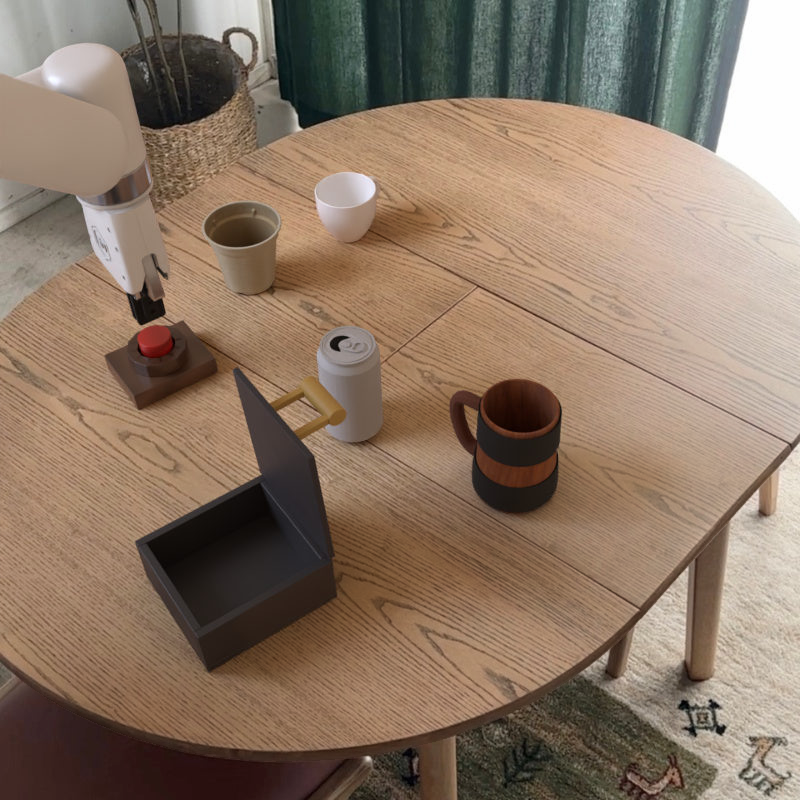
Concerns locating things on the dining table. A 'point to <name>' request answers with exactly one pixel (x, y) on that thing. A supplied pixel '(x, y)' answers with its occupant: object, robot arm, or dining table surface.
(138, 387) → the block
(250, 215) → the flower pot
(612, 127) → the dining table surface
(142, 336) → the alarm button
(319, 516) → the box lid
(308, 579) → the box case
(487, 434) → the mug
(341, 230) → the cup
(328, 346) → the beverage can
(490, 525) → the dining table surface
